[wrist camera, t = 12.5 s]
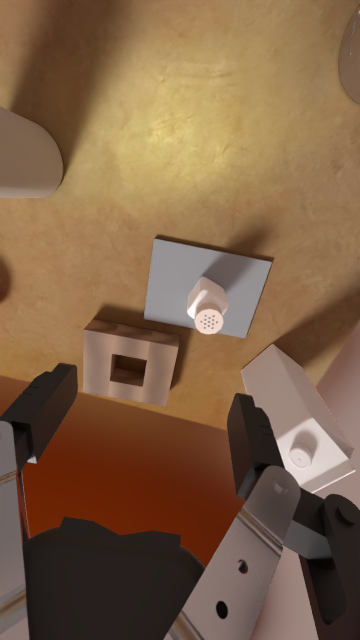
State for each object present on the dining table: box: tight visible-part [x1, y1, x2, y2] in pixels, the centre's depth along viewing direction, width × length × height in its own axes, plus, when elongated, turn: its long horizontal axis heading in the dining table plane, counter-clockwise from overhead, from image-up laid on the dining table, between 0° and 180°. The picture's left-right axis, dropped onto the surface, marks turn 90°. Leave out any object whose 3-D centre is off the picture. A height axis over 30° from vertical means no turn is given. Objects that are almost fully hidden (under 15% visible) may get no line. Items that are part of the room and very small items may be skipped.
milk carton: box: [241, 344, 356, 493], centre depth 33 cm, size 7×7×19 cm
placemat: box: [144, 238, 272, 338], centre depth 36 cm, size 16×12×1 cm
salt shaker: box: [187, 277, 229, 334], centre depth 31 cm, size 4×4×10 cm
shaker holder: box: [83, 319, 180, 406], centre depth 40 cm, size 14×12×4 cm
